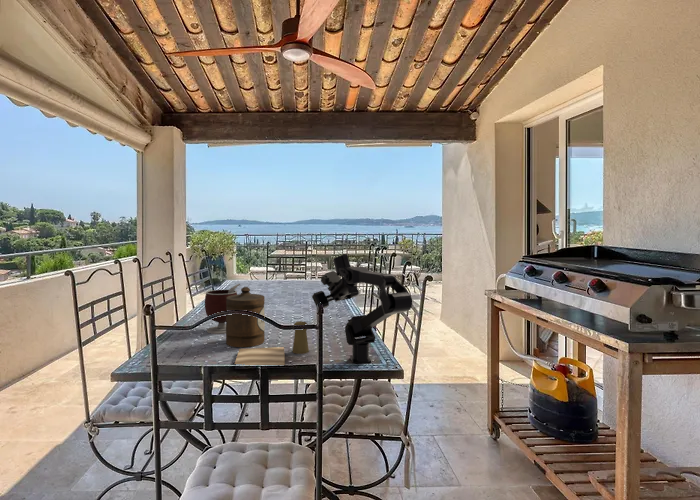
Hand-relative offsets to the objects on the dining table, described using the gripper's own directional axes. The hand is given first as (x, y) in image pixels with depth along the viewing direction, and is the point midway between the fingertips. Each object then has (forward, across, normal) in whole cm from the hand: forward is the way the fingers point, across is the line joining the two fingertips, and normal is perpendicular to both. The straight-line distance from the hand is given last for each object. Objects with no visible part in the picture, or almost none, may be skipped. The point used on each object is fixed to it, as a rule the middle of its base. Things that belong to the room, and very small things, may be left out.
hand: (327, 303), depth 165 cm
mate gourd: (+41, +29, -14) cm, 52 cm away
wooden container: (+22, +29, -1) cm, 36 cm away
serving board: (+1, +33, +11) cm, 35 cm away
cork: (+4, +18, +13) cm, 22 cm away
